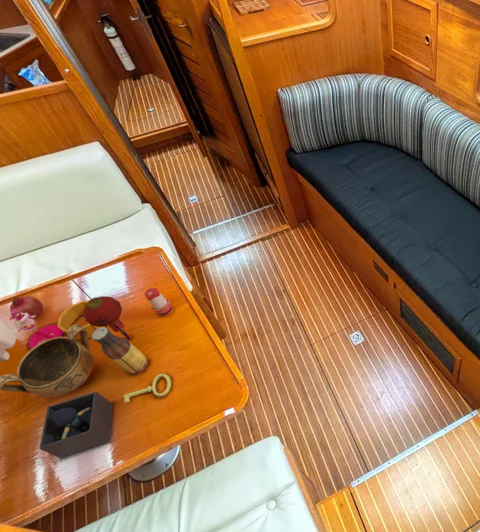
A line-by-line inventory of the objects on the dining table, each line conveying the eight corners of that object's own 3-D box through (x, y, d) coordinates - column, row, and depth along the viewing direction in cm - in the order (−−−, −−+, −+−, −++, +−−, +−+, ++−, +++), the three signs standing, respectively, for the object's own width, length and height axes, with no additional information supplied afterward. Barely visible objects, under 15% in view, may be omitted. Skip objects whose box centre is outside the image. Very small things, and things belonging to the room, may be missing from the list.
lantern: (144, 321, 133) (92, 262, 110) (145, 344, 127) (91, 286, 105) (113, 332, 130) (53, 273, 108) (113, 355, 124) (50, 298, 102)
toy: (171, 301, 138) (151, 274, 127) (178, 316, 134) (158, 288, 123) (155, 309, 136) (133, 282, 125) (162, 324, 132) (140, 297, 121)
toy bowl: (64, 345, 127) (54, 337, 123) (70, 314, 134) (61, 306, 131) (106, 333, 130) (98, 325, 126) (110, 304, 137) (102, 295, 134)
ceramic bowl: (94, 337, 129) (65, 311, 117) (123, 364, 122) (96, 339, 111) (20, 391, 116) (-21, 367, 105) (48, 424, 110) (8, 403, 99)
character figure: (94, 411, 112) (67, 393, 103) (105, 415, 111) (80, 398, 102) (67, 443, 106) (36, 427, 97) (79, 448, 105) (49, 433, 96)
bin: (61, 458, 104) (39, 448, 98) (67, 418, 111) (47, 406, 105) (109, 442, 107) (91, 431, 101) (112, 403, 114) (95, 391, 108)
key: (124, 398, 115) (120, 395, 113) (166, 372, 121) (163, 369, 119) (133, 416, 112) (129, 414, 110) (176, 388, 117) (173, 385, 116)
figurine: (38, 356, 124) (3, 330, 113) (23, 341, 127) (-13, 315, 116) (69, 333, 130) (38, 307, 118) (54, 320, 133) (22, 293, 122)
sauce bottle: (148, 354, 125) (114, 318, 110) (149, 370, 121) (115, 336, 106) (125, 362, 123) (88, 328, 108) (126, 379, 119) (87, 345, 104)
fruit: (51, 318, 134) (30, 300, 126) (22, 330, 130) (0, 313, 123) (47, 302, 138) (27, 284, 130) (20, 314, 134) (-2, 296, 127)
